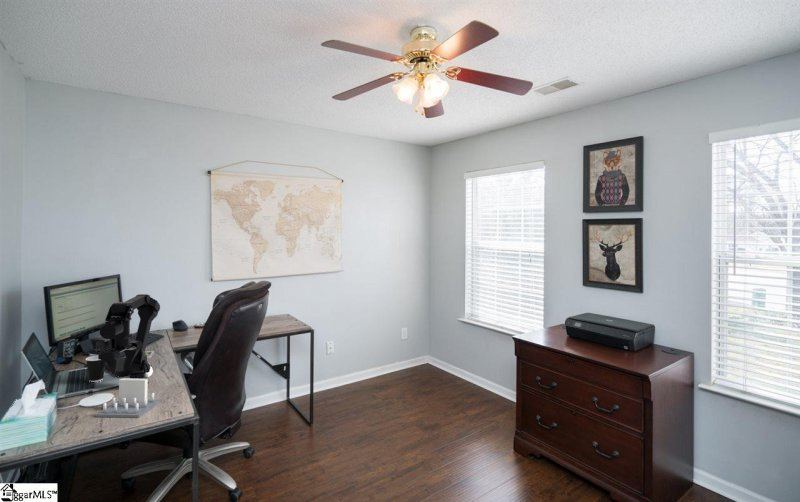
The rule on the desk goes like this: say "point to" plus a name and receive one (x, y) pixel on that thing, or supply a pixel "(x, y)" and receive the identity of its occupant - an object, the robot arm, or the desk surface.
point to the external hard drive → (119, 368)
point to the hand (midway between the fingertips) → (121, 370)
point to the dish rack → (127, 408)
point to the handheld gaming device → (149, 354)
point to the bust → (149, 372)
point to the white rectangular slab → (133, 390)
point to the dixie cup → (95, 368)
